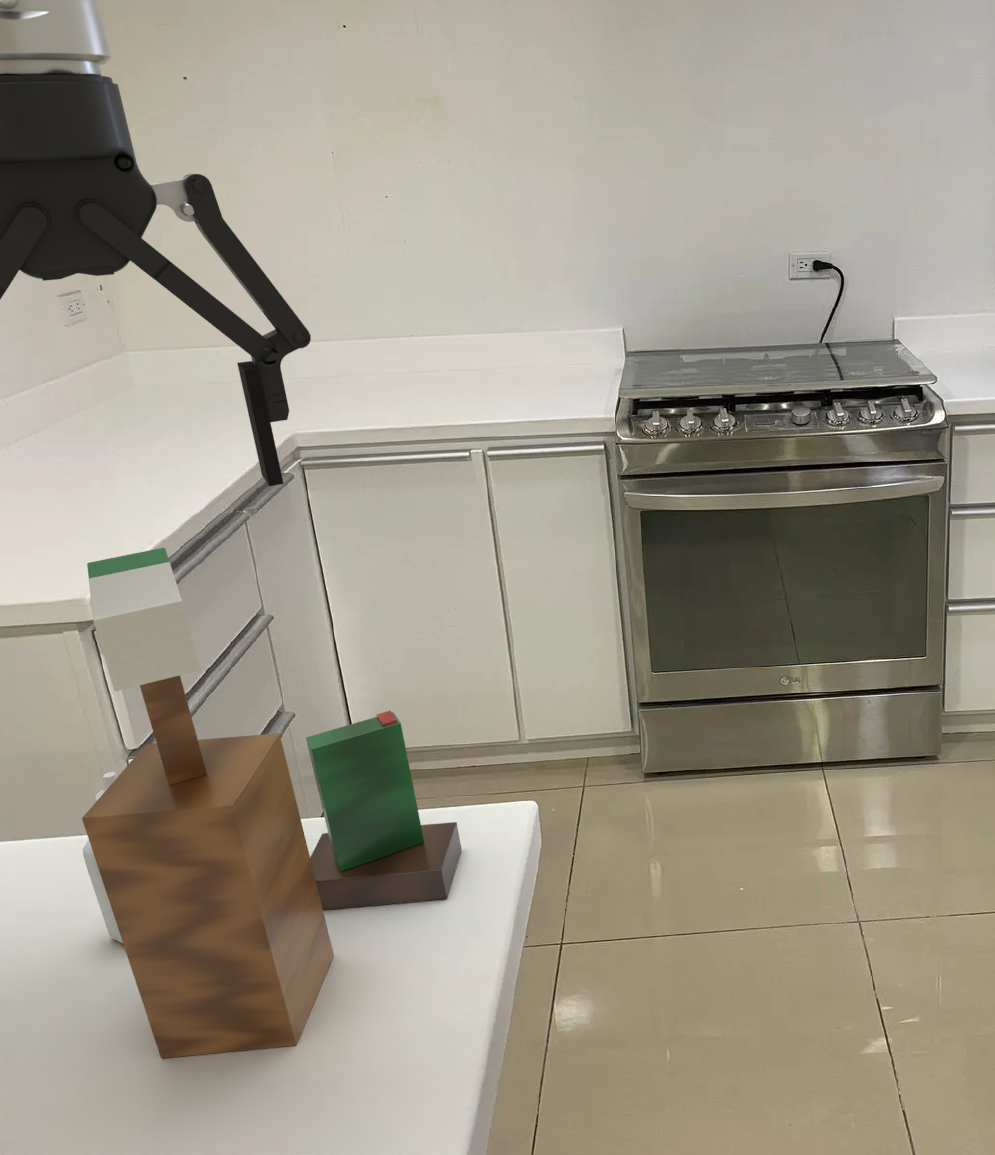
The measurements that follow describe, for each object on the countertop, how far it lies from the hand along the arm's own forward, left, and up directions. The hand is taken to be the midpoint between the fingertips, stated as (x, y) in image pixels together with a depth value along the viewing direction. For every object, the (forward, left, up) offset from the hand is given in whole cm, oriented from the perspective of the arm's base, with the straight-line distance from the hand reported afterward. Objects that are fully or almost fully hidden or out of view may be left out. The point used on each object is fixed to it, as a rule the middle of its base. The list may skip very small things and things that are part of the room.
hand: (139, 503), depth 61 cm
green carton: (+5, +10, -30) cm, 32 cm away
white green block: (-1, -2, -8) cm, 8 cm away
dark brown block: (+5, +10, -33) cm, 35 cm away
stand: (-1, -2, -33) cm, 33 cm away
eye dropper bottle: (-11, +8, -33) cm, 35 cm away
